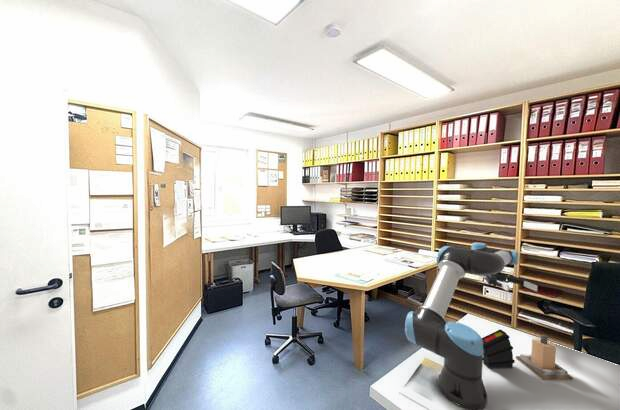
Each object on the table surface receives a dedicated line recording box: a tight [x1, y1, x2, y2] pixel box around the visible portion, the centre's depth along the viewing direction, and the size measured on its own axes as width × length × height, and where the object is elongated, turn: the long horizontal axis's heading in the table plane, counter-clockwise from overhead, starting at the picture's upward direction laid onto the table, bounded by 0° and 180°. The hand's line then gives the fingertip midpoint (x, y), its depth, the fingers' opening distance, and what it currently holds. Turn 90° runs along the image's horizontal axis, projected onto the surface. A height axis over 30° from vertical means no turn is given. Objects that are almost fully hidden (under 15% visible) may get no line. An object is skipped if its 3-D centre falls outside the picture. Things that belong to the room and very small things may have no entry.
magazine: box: [481, 329, 516, 369], centre depth 101 cm, size 4×13×15 cm, turn 92°
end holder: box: [515, 354, 574, 381], centre depth 100 cm, size 12×12×2 cm
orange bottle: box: [530, 334, 557, 370], centre depth 99 cm, size 5×5×13 cm
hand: (522, 288), depth 114 cm, fingers open, 13 cm apart
